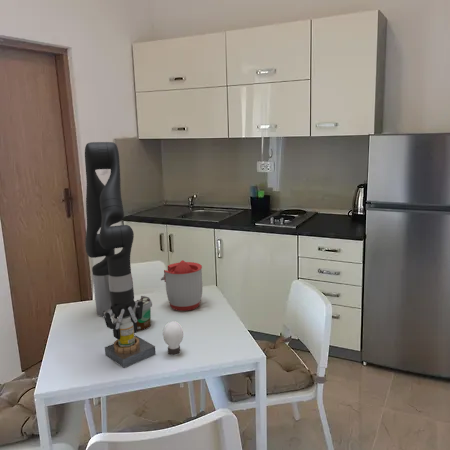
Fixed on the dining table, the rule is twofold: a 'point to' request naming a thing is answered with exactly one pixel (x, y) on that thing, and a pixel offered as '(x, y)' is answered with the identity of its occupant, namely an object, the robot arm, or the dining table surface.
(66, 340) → the dining table surface
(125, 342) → the supplement bottle
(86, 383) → the dining table surface
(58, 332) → the dining table surface
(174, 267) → the citrus juicer
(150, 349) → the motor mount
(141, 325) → the food container
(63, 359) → the dining table surface
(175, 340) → the light bulb
